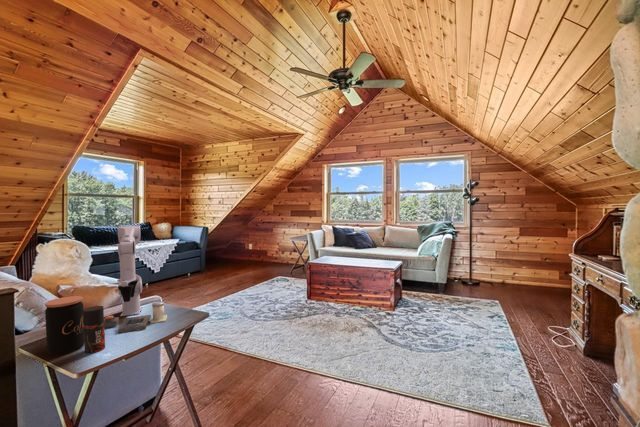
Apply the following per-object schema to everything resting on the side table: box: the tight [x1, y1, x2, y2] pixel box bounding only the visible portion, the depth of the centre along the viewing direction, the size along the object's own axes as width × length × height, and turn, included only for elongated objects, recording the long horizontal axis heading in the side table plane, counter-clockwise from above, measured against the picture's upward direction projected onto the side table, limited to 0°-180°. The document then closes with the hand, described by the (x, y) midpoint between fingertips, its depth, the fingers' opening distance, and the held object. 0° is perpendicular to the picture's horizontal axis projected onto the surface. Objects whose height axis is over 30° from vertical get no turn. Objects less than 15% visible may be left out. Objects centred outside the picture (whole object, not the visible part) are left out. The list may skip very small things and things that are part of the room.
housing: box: [117, 314, 152, 334], centre depth 134 cm, size 14×10×2 cm
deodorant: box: [83, 305, 106, 354], centre depth 111 cm, size 6×6×15 cm
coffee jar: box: [44, 295, 85, 356], centre depth 112 cm, size 11×11×18 cm
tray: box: [150, 314, 168, 324], centre depth 140 cm, size 8×6×1 cm
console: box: [104, 316, 120, 329], centre depth 133 cm, size 5×6×2 cm
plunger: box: [104, 315, 115, 322], centre depth 133 cm, size 3×3×3 cm
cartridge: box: [151, 301, 165, 320], centre depth 139 cm, size 5×5×7 cm
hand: (129, 299), depth 136 cm, fingers open, 7 cm apart
